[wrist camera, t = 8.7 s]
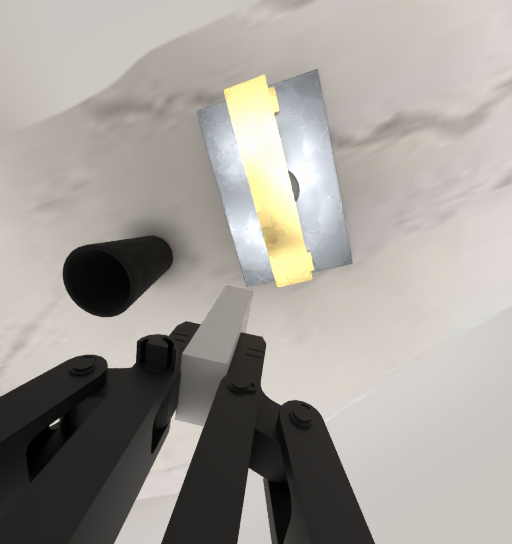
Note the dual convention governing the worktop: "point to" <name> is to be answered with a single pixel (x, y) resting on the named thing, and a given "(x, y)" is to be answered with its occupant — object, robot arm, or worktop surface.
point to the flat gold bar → (268, 179)
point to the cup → (114, 273)
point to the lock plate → (302, 174)
